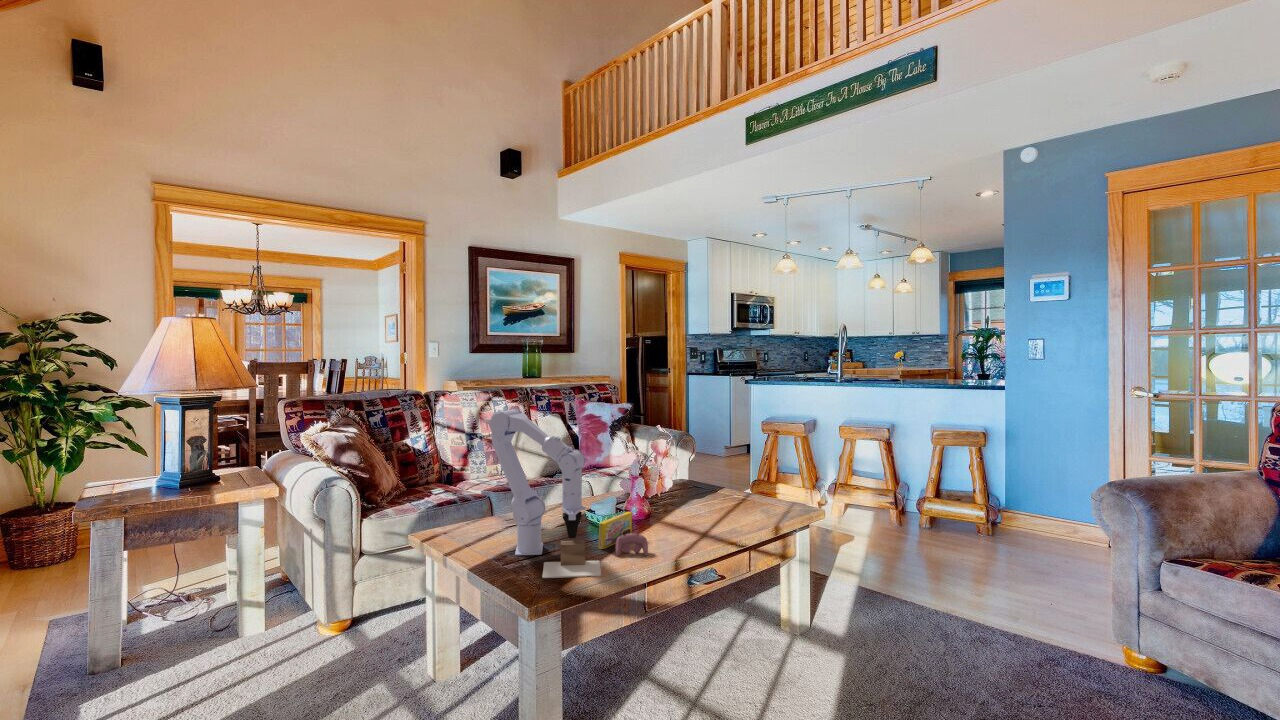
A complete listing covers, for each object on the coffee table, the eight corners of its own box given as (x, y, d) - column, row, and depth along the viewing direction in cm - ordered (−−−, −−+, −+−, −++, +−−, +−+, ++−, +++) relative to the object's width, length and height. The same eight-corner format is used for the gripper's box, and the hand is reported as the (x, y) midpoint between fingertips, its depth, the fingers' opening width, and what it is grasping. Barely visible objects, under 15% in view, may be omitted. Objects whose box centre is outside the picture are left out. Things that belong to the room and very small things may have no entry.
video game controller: (647, 557, 187) (647, 534, 190) (648, 555, 183) (647, 531, 186) (615, 558, 187) (615, 534, 190) (615, 556, 183) (615, 532, 186)
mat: (544, 563, 177) (544, 562, 177) (599, 561, 179) (599, 560, 179) (542, 578, 166) (542, 576, 166) (601, 576, 168) (601, 574, 168)
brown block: (560, 561, 178) (560, 540, 178) (584, 560, 179) (585, 540, 179) (560, 565, 175) (560, 544, 175) (585, 564, 175) (585, 544, 175)
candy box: (603, 550, 189) (603, 523, 189) (597, 549, 191) (598, 522, 190) (632, 536, 203) (632, 511, 203) (627, 535, 204) (627, 510, 204)
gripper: (586, 497, 175) (586, 545, 175) (585, 486, 189) (585, 529, 190) (561, 498, 174) (561, 545, 174) (562, 486, 189) (562, 530, 189)
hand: (572, 537), depth 182 cm, fingers closed
